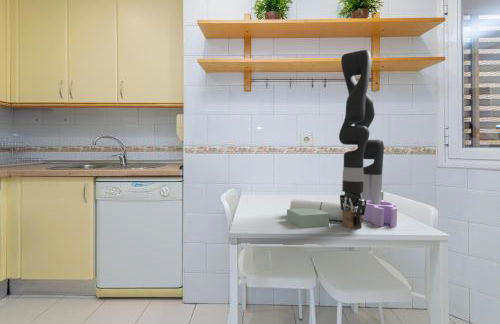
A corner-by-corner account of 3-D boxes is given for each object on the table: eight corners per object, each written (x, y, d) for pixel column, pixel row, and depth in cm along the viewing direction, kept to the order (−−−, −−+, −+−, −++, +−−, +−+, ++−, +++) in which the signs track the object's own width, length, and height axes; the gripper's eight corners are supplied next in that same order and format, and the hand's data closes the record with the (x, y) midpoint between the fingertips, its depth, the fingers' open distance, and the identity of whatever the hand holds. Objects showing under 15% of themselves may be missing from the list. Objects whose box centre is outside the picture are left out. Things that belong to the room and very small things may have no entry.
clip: (404, 228, 120) (405, 209, 119) (370, 226, 121) (370, 208, 121) (389, 216, 139) (389, 200, 139) (359, 215, 141) (360, 199, 141)
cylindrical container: (290, 200, 134) (352, 205, 125) (294, 198, 141) (354, 202, 131) (289, 217, 135) (351, 223, 125) (294, 214, 141) (353, 219, 132)
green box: (313, 219, 133) (313, 207, 133) (328, 226, 122) (329, 213, 121) (286, 221, 129) (287, 209, 129) (300, 228, 118) (300, 215, 118)
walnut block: (353, 224, 123) (353, 209, 123) (361, 228, 118) (361, 212, 118) (342, 225, 122) (342, 210, 122) (349, 229, 117) (350, 212, 117)
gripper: (374, 181, 113) (372, 228, 114) (350, 177, 127) (349, 219, 128) (355, 181, 111) (354, 229, 112) (333, 177, 125) (332, 220, 126)
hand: (351, 224), depth 120 cm, fingers open, 5 cm apart
